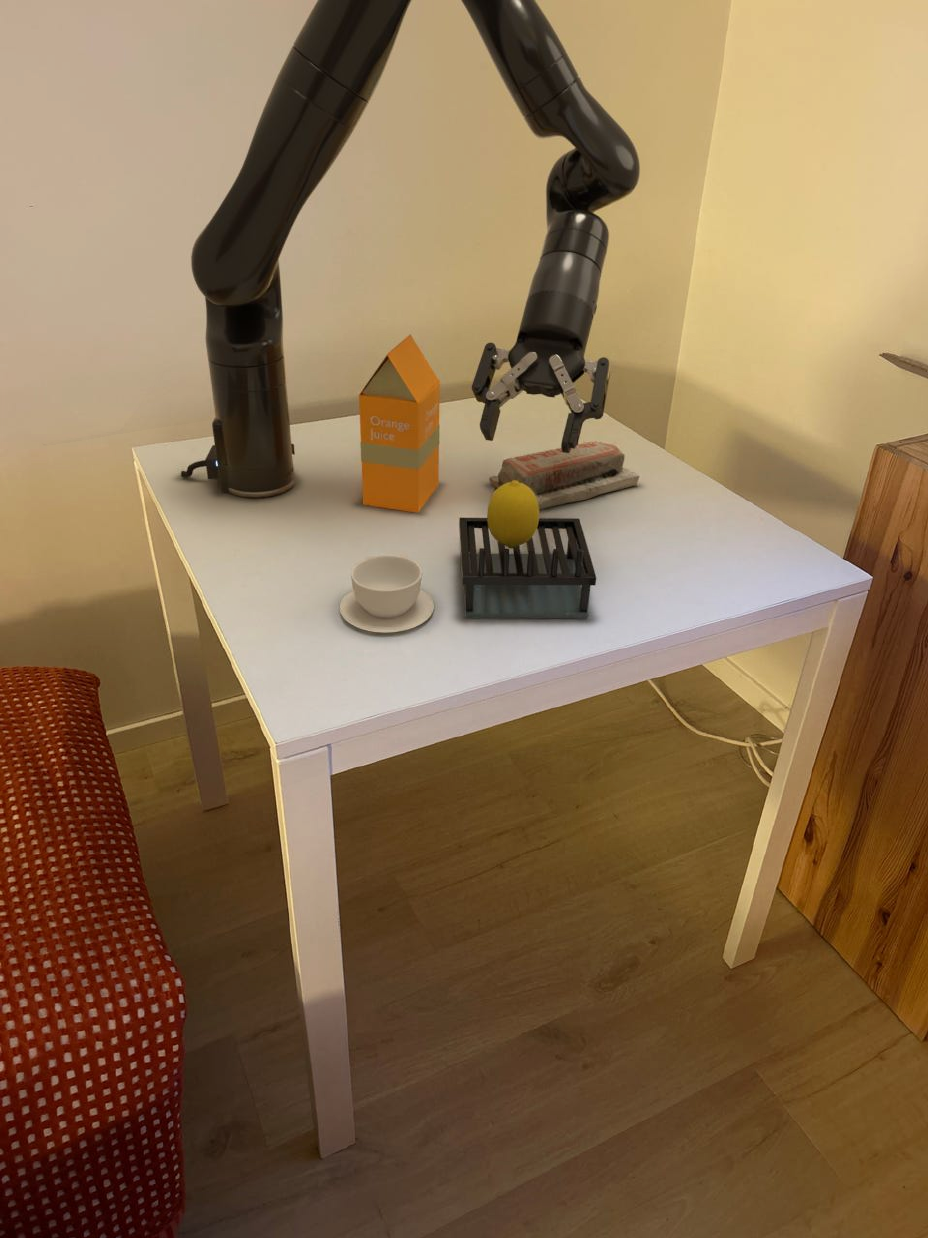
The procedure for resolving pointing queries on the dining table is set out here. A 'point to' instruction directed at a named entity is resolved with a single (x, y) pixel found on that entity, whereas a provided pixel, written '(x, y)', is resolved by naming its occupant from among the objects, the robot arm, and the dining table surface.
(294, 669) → the dining table surface
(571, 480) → the packaged product
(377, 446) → the orange juice
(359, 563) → the teacup
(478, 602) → the dish rack
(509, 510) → the lemon
